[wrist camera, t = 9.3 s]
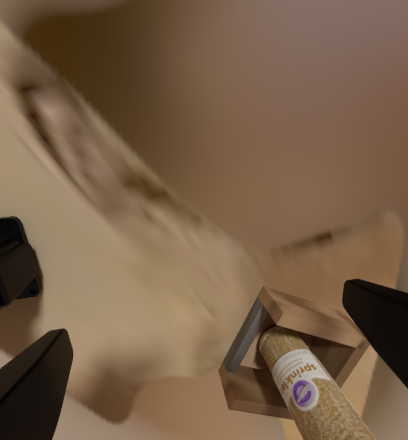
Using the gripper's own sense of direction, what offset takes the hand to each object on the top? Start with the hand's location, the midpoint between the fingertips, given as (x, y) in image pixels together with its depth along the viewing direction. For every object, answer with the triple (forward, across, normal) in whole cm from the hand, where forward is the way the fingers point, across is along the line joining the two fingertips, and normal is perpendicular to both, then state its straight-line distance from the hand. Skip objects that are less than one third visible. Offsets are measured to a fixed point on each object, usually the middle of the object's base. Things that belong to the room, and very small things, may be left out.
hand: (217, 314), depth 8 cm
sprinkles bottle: (+13, -8, +15) cm, 22 cm away
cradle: (+13, -9, +15) cm, 22 cm away
